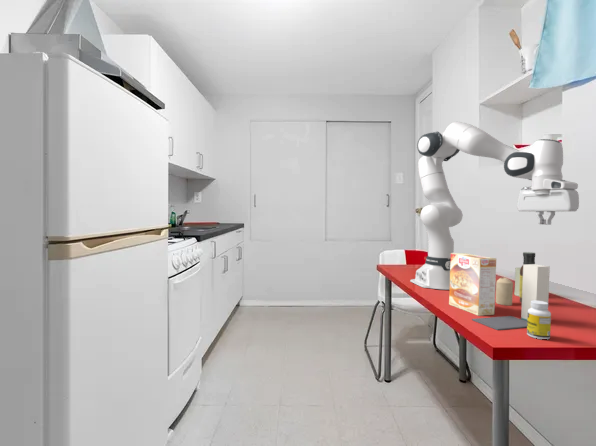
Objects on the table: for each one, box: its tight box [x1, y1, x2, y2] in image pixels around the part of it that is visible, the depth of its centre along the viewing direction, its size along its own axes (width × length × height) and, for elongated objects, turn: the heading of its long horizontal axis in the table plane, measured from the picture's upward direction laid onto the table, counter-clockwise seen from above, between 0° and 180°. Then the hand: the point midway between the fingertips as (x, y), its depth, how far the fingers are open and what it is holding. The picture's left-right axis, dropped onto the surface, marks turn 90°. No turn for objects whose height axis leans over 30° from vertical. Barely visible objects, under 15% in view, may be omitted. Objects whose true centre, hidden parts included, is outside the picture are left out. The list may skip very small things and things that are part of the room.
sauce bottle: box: [518, 251, 536, 304], centre depth 137 cm, size 6×6×20 cm
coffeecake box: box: [448, 252, 497, 317], centre depth 125 cm, size 15×7×20 cm, turn 14°
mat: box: [471, 315, 527, 331], centre depth 110 cm, size 10×16×1 cm, turn 106°
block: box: [520, 263, 551, 321], centre depth 113 cm, size 5×5×18 cm
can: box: [513, 267, 521, 297], centre depth 150 cm, size 9×9×12 cm
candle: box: [495, 277, 514, 306], centre depth 135 cm, size 6×6×10 cm
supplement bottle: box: [526, 300, 552, 340], centre depth 98 cm, size 5×5×10 cm
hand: (544, 224), depth 124 cm, fingers closed
